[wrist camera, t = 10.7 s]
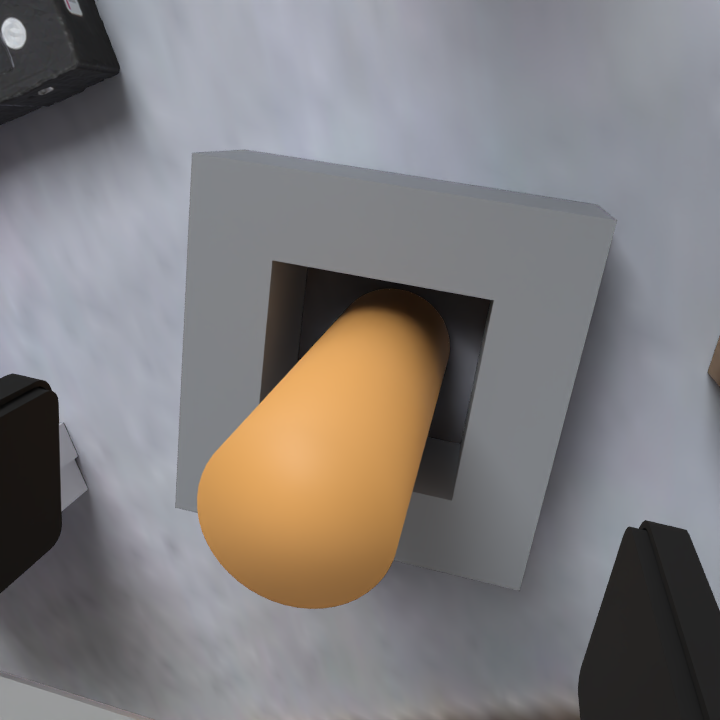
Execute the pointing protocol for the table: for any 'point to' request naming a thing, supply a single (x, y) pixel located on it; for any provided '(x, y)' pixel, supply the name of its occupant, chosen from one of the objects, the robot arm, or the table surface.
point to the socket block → (411, 267)
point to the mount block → (715, 365)
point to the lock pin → (330, 458)
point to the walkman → (69, 470)
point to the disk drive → (50, 53)
